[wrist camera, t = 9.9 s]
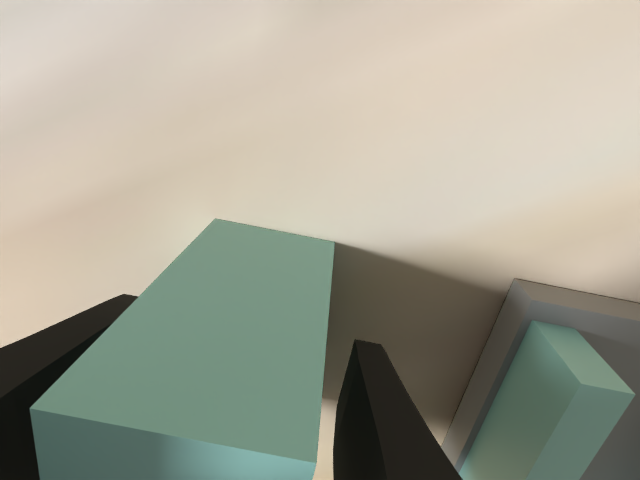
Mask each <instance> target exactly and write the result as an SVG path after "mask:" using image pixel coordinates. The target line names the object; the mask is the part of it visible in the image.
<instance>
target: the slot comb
mask: <svg viewBox="0 0 640 480" xmlns="http://www.w3.org/2000/svg"><path fill="white" fill-rule="evenodd" d="M441 448H442V450H443V451H444V453H445V454H446V456H447V457H448V459H449V460H450V462H451V463H452V465H453V466H454V468H455V469H456V471H457V472H458V473H459V475H460V476H461V478H462V479H463V480H640V303H635V302H630V301H625V300H620V299H615V298H610V297H605V296H600V295H594V294H589V293H584V292H579V291H574V290H569V289H564V288H559V287H554V286H549V285H544V284H539V283H534V282H529V281H524V280H519V279H514V280H513V283H512V285H511V287H510V290H509V292H508V294H507V297H506V299H505V301H504V303H503V306H502V308H501V310H500V313H499V315H498V317H497V320H496V322H495V324H494V326H493V329H492V331H491V333H490V336H489V338H488V340H487V343H486V345H485V347H484V350H483V352H482V354H481V356H480V359H479V361H478V363H477V366H476V368H475V370H474V373H473V375H472V377H471V379H470V382H469V384H468V386H467V389H466V391H465V393H464V396H463V398H462V400H461V403H460V405H459V407H458V409H457V412H456V414H455V416H454V419H453V421H452V423H451V426H450V428H449V430H448V432H447V435H446V437H445V439H444V442H443V444H442V446H441Z"/></svg>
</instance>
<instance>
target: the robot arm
mask: <svg viewBox="0 0 640 480" xmlns="http://www.w3.org/2000/svg"><path fill="white" fill-rule="evenodd" d="M137 298H138V297H137V296H132V295H127V294H122V295H120V296H117V297H115V298H112V299H110V300H108V301H105V302H103V303H101V304H99V305H96V306H94V307H92V308H90V309H88V310H85V311H83V312H81V313H79V314H77V315H75V316H72V317H70V318H68V319H66V320H64V321H61V322H59V323H57V324H55V325H53V326H50V327H48V328H46V329H44V330H41V331H39V332H37V333H35V334H33V335H30V336H28V337H26V338H24V339H21V340H19V341H16V342H14V343H12V344H9V345H7V346H4V347H2V348H0V480H40V476H39V469H38V462H37V455H36V449H35V442H34V435H33V428H32V421H31V415H30V407H31V406H32V405H33V404H34V403H35V402H36V401H37V400H38V399H39V398H40V397H41V396H42V395H43V394H44V393H45V392H46V391H47V390H48V389H49V388H50V387H51V386H52V385H53V384H54V383H55V382H56V381H57V380H58V379H59V378H60V377H61V376H62V375H63V374H64V373H65V372H66V371H67V370H68V368H69V367H70V366H71V365H72V364H73V363H74V362H75V361H76V360H77V359H78V358H79V357H80V356H81V355H82V354H83V353H84V352H85V351H86V350H87V349H88V348H89V347H90V346H91V345H92V344H93V343H94V342H95V341H96V340H97V339H98V338H99V337H100V336H101V335H102V334H103V333H104V332H105V331H106V330H107V329H108V328H109V327H110V326H111V325H112V324H113V323H114V321H115V320H116V319H117V318H118V317H119V316H120V315H121V314H122V313H123V312H124V311H125V310H126V309H127V308H128V307H129V306H130V305H131V304H132V303H133V302H134V301H135V300H136V299H137ZM333 473H334V480H463V479H462V478H461V476H460V475H459V473H458V472H457V471H456V469H455V468H454V466H453V465H452V463H451V462H450V460H449V459H448V457H447V456H446V454H445V453H444V451H443V450H442V448H441V447H440V445H439V444H438V442H437V441H436V439H435V437H434V436H433V434H432V433H431V431H430V430H429V428H428V426H427V425H426V423H425V421H424V420H423V418H422V416H421V415H420V413H419V411H418V410H417V408H416V406H415V405H414V403H413V401H412V400H411V398H410V396H409V394H408V393H407V391H406V389H405V387H404V385H403V384H402V382H401V380H400V378H399V376H398V374H397V373H396V371H395V369H394V367H393V365H392V363H391V361H390V359H389V357H388V355H387V354H386V352H385V350H384V348H383V347H382V345H381V344H376V343H371V342H366V341H361V340H356V339H355V341H354V344H353V348H352V352H351V356H350V359H349V363H348V367H347V370H346V374H345V378H344V382H343V385H342V389H341V393H340V396H339V400H338V404H337V411H336V422H335V433H334V446H333Z"/></svg>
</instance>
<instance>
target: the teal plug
mask: <svg viewBox="0 0 640 480" xmlns="http://www.w3.org/2000/svg"><path fill="white" fill-rule="evenodd" d="M334 246H335V242H332V241H327V240H322V239H317V238H312V237H307V236H301V235H296V234H291V233H286V232H281V231H276V230H271V229H266V228H261V227H256V226H251V225H245V224H240V223H235V222H230V221H225V220H220V219H214V220H213V221H212V222H211V223H210V224H209V225H208V226H207V227H206V228H205V230H204V231H203V232H202V233H201V234H200V235H199V236H198V237H197V238H196V239H195V240H194V241H193V242H192V243H191V244H190V245H189V246H188V247H187V248H186V249H185V250H184V251H183V252H182V253H181V254H180V255H179V256H178V257H177V258H176V259H175V260H174V261H173V262H172V263H171V264H170V265H169V266H168V267H167V268H166V269H165V270H164V271H163V272H162V273H161V274H160V275H159V277H158V278H157V279H156V280H155V281H154V282H153V283H152V284H151V285H150V286H149V287H148V288H147V289H146V290H145V291H144V292H143V293H142V294H141V295H140V296H139V297H138V298H137V299H136V300H135V301H134V302H133V303H132V304H131V305H130V306H129V307H128V308H127V309H126V310H125V311H124V312H123V313H122V314H121V315H120V316H119V317H118V318H117V319H116V320H115V321H114V323H113V324H112V325H111V326H110V327H109V328H108V329H107V330H106V331H105V332H104V333H103V334H102V335H101V336H100V337H99V338H98V339H97V340H96V341H95V342H94V343H93V344H92V345H91V346H90V347H89V348H88V349H87V350H86V351H85V352H84V353H83V354H82V355H81V356H80V357H79V358H78V359H77V360H76V361H75V362H74V363H73V364H72V365H71V366H70V367H69V368H68V370H67V371H66V372H65V373H64V374H63V375H62V376H61V377H60V378H59V379H58V380H57V381H56V382H55V383H54V384H53V385H52V386H51V387H50V388H49V389H48V390H47V391H46V392H45V393H44V394H43V395H42V396H41V397H40V398H39V399H38V400H37V401H36V402H35V403H34V404H33V405H32V406H31V407H30V415H31V421H32V428H33V435H34V442H35V449H36V455H37V462H38V469H39V476H40V480H312V479H313V475H314V471H315V467H316V463H317V451H318V439H319V427H320V415H321V403H322V391H323V379H324V367H325V355H326V343H327V331H328V318H329V306H330V294H331V282H332V270H333V258H334Z"/></svg>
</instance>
